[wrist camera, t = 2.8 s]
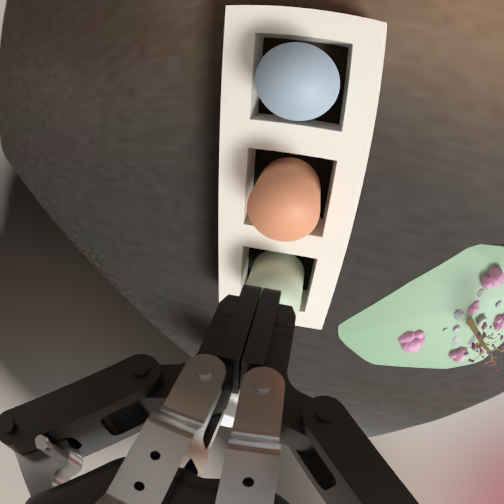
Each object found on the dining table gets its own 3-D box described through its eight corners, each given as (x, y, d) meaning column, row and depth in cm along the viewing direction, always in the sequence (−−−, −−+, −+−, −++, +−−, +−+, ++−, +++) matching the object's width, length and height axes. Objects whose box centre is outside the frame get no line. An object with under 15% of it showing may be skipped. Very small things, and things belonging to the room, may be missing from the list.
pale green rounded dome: (251, 286, 28) (240, 316, 25) (254, 245, 26) (243, 274, 22) (299, 294, 28) (295, 326, 24) (308, 254, 25) (305, 285, 22)
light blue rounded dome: (264, 107, 19) (252, 115, 16) (269, 44, 16) (257, 38, 13) (331, 116, 18) (334, 127, 15) (339, 53, 16) (344, 48, 12)
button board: (227, 290, 31) (219, 310, 29) (237, 12, 16) (225, 5, 14) (322, 307, 30) (321, 329, 28) (378, 29, 15) (387, 23, 13)
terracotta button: (257, 209, 24) (245, 235, 20) (261, 153, 21) (249, 170, 18) (315, 218, 23) (313, 246, 20) (325, 162, 20) (325, 182, 17)
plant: (364, 388, 38) (363, 443, 31) (316, 287, 30) (309, 362, 22) (520, 339, 27) (538, 390, 20) (535, 213, 19) (582, 267, 12)
